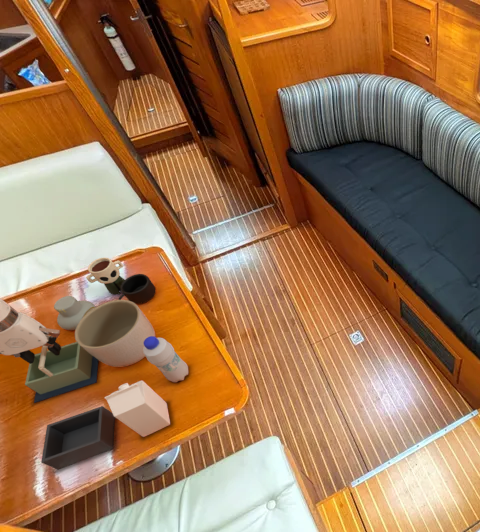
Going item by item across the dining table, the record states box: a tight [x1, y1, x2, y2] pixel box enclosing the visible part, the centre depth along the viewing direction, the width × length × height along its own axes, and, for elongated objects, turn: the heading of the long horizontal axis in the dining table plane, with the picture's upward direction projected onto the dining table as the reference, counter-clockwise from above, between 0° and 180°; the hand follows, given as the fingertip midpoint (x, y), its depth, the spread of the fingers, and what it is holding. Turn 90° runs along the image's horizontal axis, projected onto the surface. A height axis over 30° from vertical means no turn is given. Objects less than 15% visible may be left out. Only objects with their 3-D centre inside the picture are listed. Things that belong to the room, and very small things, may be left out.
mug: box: [118, 273, 157, 305], centre depth 136 cm, size 12×9×7 cm
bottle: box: [143, 336, 189, 383], centre depth 113 cm, size 7×7×20 cm
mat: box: [33, 356, 100, 404], centre depth 120 cm, size 16×14×1 cm
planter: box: [74, 299, 156, 368], centre depth 120 cm, size 17×17×15 cm
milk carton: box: [104, 379, 171, 438], centre depth 104 cm, size 7×7×19 cm
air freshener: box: [53, 295, 97, 331], centre depth 129 cm, size 11×8×10 cm
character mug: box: [85, 257, 125, 296], centre depth 137 cm, size 11×7×13 cm, turn 137°
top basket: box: [24, 340, 92, 395], centre depth 116 cm, size 13×10×12 cm
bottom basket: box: [40, 405, 116, 470], centre depth 105 cm, size 13×10×6 cm
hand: (45, 354), depth 112 cm, fingers open, 5 cm apart
